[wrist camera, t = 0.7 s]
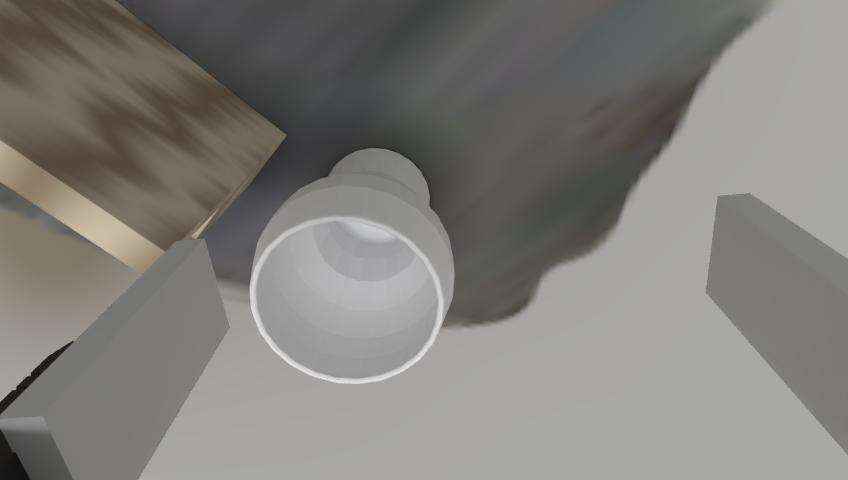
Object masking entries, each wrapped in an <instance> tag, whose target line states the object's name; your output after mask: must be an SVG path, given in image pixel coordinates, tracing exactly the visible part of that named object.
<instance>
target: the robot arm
mask: <svg viewBox="0 0 848 480" xmlns="http://www.w3.org/2000/svg"><path fill="white" fill-rule="evenodd" d="M706 293H707V294H708V295H709V296H710V298H711V299H712V300H713V301H714V302H715V303H716V305H717V306H718V307H719V308H720V309H721V310H722V311H723V313H724V314H725V315H726V316H727V317H728V318H729V319H730V320H731V322H733V324H734V325H735V326H736V327H737V329H738V330H739V331H740V332H741V333H742V334H743V335H744V337H745V338H746V339H747V340H748V341H749V342H750V343H751V345H752V346H753V347H754V348H755V349H756V350H757V351H758V352H759V354H760V355H761V356H762V357H763V358H764V359H765V360H766V362H767V363H768V364H769V365H770V366H771V367H772V369H773V370H774V371H775V372H776V373H777V374H778V375H779V376H780V378H781V379H782V380H783V381H784V382H785V383H786V385H787V386H788V387H789V388H790V389H791V390H792V392H794V394H795V395H796V396H797V397H798V398H799V399H800V401H801V402H802V403H803V404H804V405H805V406H806V408H807V409H808V410H809V411H810V412H811V413H812V414H813V416H815V418H816V419H817V420H818V421H819V422H820V423H821V425H822V426H823V427H824V428H825V429H826V430H827V431H828V433H829V434H830V435H831V436H832V437H833V438H834V439H835V441H836V442H837V443H838V444H839V445H840V446H841V448H842V449H843V450H844V451H845V452H846V453H847V454H848V259H847V258H846V257H844V256H842V255H841V254H840V253H838V252H837V251H835V250H834V249H832V248H831V247H829V246H828V245H826V244H825V243H823V242H822V241H820V240H819V239H817V238H816V237H814V236H813V235H811V234H810V233H808V232H806V231H805V230H804V229H802V228H801V227H799V226H798V225H796V224H795V223H793V222H792V221H790V220H789V219H787V218H786V217H784V216H783V215H781V214H780V213H778V212H777V211H775V210H774V209H772V208H771V207H769V206H768V205H766V204H765V203H763V202H762V201H760V200H759V199H757V198H756V197H754V196H753V195H751V194H750V193H748V194H736V195H724V196H718V200H717V208H716V216H715V224H714V232H713V239H712V248H711V255H710V263H709V271H708V280H707V287H706ZM229 328H230V326H229V323H228V320H227V316H226V312H225V309H224V305H223V302H222V298H221V295H220V291H219V288H218V284H217V281H216V277H215V274H214V270H213V267H212V263H211V260H210V256H209V253H208V249H207V246H206V242H205V239H194V240H182V241H176V242H175V243H174V244H173V245H172V246H171V247H170V248H169V249H168V250H167V251H166V252H165V253H164V254H162V255H161V256H160V257H159V258H158V259H157V260H156V261H155V262H154V263H153V264H152V265H151V266H150V267H149V268H148V269H147V270H146V271H145V272H144V273H143V274H142V275H141V276H140V277H139V278H138V279H137V280H136V281H135V282H134V283H133V284H132V285H131V286H130V287H129V288H128V289H127V290H126V291H125V292H124V293H123V294H122V295H121V296H120V297H119V298H118V299H117V300H116V301H115V302H114V303H113V304H112V305H111V306H110V307H109V308H108V309H107V310H106V311H105V312H104V313H103V314H102V315H101V316H100V317H99V318H98V319H97V320H96V321H95V322H94V323H93V324H92V325H91V326H90V327H89V328H88V329H87V330H85V332H84V333H82V334H81V335H80V336H79V338H77V339H76V340H75V341H72V342H70V343H69V344H67V345H65V346H64V347H62V348H61V349H59V350H57V351H56V352H54V353H53V354H51V355H49V356H48V357H47V358H46V359H45V360H44V361H43V362H42V363H41V364H40V365H39V366H38V367H36V368H35V370H33V372H31V376H27V377H26V378H25V379H24V380H23V381H22V382H21V383H20V384H19V385H18V386H17V387H16V388H17V389H16V390H12V392H10V393H9V394H8V395H7V396H6V397H5V398H4V399H3V400H2V401H1V402H0V480H138V479H139V477H140V475H141V473H142V472H143V470H144V469H145V467H146V465H147V464H148V462H149V460H150V459H151V457H152V455H153V454H154V452H155V450H156V449H157V447H158V445H159V444H160V442H161V440H162V439H163V437H164V435H165V434H166V432H167V430H168V429H169V427H170V425H171V424H172V422H173V421H174V419H175V417H176V416H177V414H178V412H179V411H180V409H181V407H182V405H183V404H184V402H185V400H186V399H187V397H188V395H189V394H190V392H191V391H192V389H193V387H194V386H195V384H196V382H197V381H198V379H199V377H200V376H201V374H202V372H203V371H204V369H205V367H206V366H207V364H208V362H209V361H210V359H211V357H212V356H213V354H214V353H215V351H216V349H217V348H218V346H219V344H220V343H221V341H222V339H223V337H224V336H225V334H226V333H227V331H228V329H229Z"/></svg>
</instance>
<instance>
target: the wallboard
mask: <svg viewBox="0 0 848 480" xmlns="http://www.w3.org/2000/svg"><path fill="white" fill-rule="evenodd" d="M286 136H287V135H286V134H285V133H283V132H282V131H281V130H280V129H278V128H277V127H276V126H275V125H273V124H272V123H271V122H269V121H268V120H267V119H266V118H264V117H263V116H262V115H261V114H259V113H258V112H257V111H255V110H254V109H253V108H252V107H250V106H249V105H248V104H247V103H245V102H244V101H243V100H241V99H240V98H239V97H238V96H236V95H235V94H234V93H233V92H231V91H230V90H229V89H227V88H226V87H225V86H224V85H222V84H221V83H220V82H219V81H217V80H216V79H215V78H213V77H212V76H211V75H210V74H208V73H207V72H206V71H205V70H203V69H202V68H201V67H200V66H198V65H197V64H196V63H194V62H193V61H192V60H191V59H189V58H188V57H187V56H186V55H184V54H183V53H182V52H180V51H179V50H178V49H177V48H175V47H174V46H173V45H172V44H170V43H169V42H168V41H166V40H165V39H164V38H163V37H161V36H160V35H159V34H158V33H156V32H155V31H154V30H152V29H151V28H150V27H149V26H147V25H146V24H145V23H144V22H142V21H141V20H140V19H138V18H137V17H136V16H135V15H133V14H132V13H131V12H130V11H128V10H127V9H126V8H124V7H123V6H122V5H121V4H119V3H118V2H117V1H116V0H0V182H2V183H3V184H5V185H6V186H8V187H9V188H11V189H12V190H14V191H15V192H17V193H18V194H20V195H21V196H23V197H24V198H26V199H28V200H29V201H31V202H32V203H34V204H35V205H37V206H38V207H40V208H41V209H43V210H44V211H46V212H47V213H49V214H50V215H52V216H53V217H55V218H56V219H58V220H59V221H61V222H63V223H64V224H66V225H67V226H69V227H70V228H72V229H73V230H75V231H76V232H78V233H79V234H81V235H82V236H84V237H85V238H87V239H88V240H90V241H91V242H93V243H94V244H96V245H98V246H99V247H101V248H102V249H104V250H105V251H107V252H108V253H110V254H111V255H113V256H114V257H116V258H117V259H119V260H120V261H122V262H123V263H125V264H126V265H128V266H130V267H131V268H133V269H134V270H136V271H137V272H139V273H140V274H143V273H144V272H145V271H146V270H147V269H148V268H149V267H150V266H151V265H152V264H153V263H154V262H155V261H156V260H157V259H158V258H159V257H160V256H161V255H162V254H164V253H165V252H166V251H167V250H168V249H169V248H170V247H171V246H172V245H173V244H174V243H175V242H176V241H182V240H194V239H199V237H200V236H201V235H202V234H203V233H204V232H205V231H206V230H207V229H208V228H209V227H210V226H211V225H212V224H213V223H214V222H215V221H216V220H217V218H218V217H219V216H220V215H221V214H222V213H223V212H224V211H225V210H226V209H227V208H228V207H229V206H230V205H231V204H232V203H233V202H234V201H235V199H236V198H237V197H238V196H239V195H240V194H241V193H242V192H243V191H244V190H245V189H246V188H247V187H248V186H249V185H250V183H251V182H252V181H253V179H254V178H255V177H256V175H257V174H258V173H259V171H260V170H261V169H262V168H263V166H264V165H265V164H266V162H267V161H268V160H269V158H270V157H271V156H272V154H273V153H274V152H275V151H276V149H277V148H278V147H279V145H280V144H281V143H282V141H283V140H284V139H285V137H286Z"/></svg>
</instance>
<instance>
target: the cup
mask: <svg viewBox="0 0 848 480" xmlns="http://www.w3.org/2000/svg"><path fill="white" fill-rule="evenodd" d="M429 202H430V195H429V190H428V186H427V183H426V181H425V179H424V177H423V175H422V173H421V171H420V170H419V169H418V168H417V167H416V166H415V165H414V164H413V163H412V162H411V161H410V160H409V159H407V158H405V157H404V156H402V155H401V154H399V153H396V152H393V151H390V150H387V149H379V148H368V149H363V150H358V151H355V152H353V153H351V154H349V155H347V156H345V157H344V158H343V159H342V160H340V161H339V162H338V163H337V164H336V165H335V166H334V167H333V169H332V171H331V172H330V174H329V176H328V177H325V178H321V179H319V180H316V181H314V182H312V183H310V184H308V185H306V186H304V187H302V188H300V189H298V190H297V191H296V192H295V193H294V194H293V195H292V196H291V197H290V198H289V199H287V200H286V201H285V202H284V203H283V204H282V205H281V206H280V207H279V209H278V210H277V211H276V213H275V214H274V216H273V217H272V218H271V220H270V221H269V223H268V225H267V226H266V228H265V230H264V232H263V233H262V235H261V237H260V238H259V240H258V244H257V248H256V253H255V257H254V261H253V267H252V274H251V281H250V287H249V289H250V302H251V311H252V314H253V316H254V319H255V321H256V324H257V326H258V329H259V331H260V333H261V334H262V336H263V337H264V338H265V340H266V341H267V342H268V344H269V345H270V347H271V348H272V349H273V351H275V352H276V353H277V354H278V355H279V356H281V357H282V358H283V359H284V360H285V361H287V362H288V363H289V364H290V365H291V366H293V367H295V368H297V369H299V370H301V371H303V372H305V373H307V374H309V375H311V376H313V377H317V378H320V379H324V380H328V381H332V382H335V383H352V384H361V383H367V382H374V381H380V380H383V379H386V378H388V377H391V376H393V375H396V374H398V373H401V372H403V371H405V370H406V369H407V368H409V367H410V366H411V365H413V364H414V363H416V362H417V361H418V360H420V359H421V358H422V357H423V355H424V354H425V353H426V352H427V350H428V349H429V348H430V347H431V345H432V344H433V343H434V341H435V339H436V337H437V335H438V332H439V330H440V328H441V325H442V323H443V321H444V318H445V316H446V313H447V311H448V308H449V306H450V303H451V301H452V298H453V287H454V262H453V255H452V250H451V245H450V241H449V236H448V234H447V232H446V230H445V229H444V227H443V225H442V223H441V221H440V219H439V217H438V215H437V214H436V213H435V212H434V211H433V210H432V209H431V208H430V207H429Z"/></svg>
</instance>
